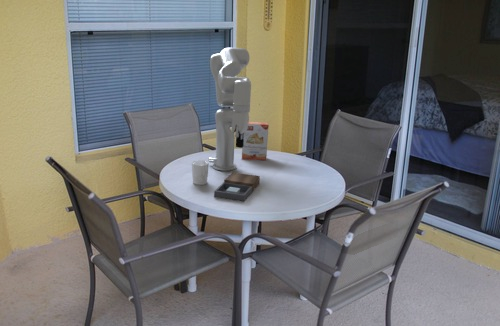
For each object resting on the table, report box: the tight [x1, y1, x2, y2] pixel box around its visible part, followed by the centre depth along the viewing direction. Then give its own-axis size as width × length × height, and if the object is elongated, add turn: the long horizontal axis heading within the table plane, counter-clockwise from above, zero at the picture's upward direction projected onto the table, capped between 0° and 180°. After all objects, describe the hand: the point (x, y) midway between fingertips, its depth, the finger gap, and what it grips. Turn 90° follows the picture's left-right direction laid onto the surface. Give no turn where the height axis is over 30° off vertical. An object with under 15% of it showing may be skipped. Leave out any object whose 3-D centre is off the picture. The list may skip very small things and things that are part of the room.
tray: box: [213, 181, 253, 203], centre depth 223 cm, size 14×12×3 cm
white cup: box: [191, 160, 210, 186], centre depth 236 cm, size 8×8×10 cm
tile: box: [226, 187, 240, 194], centre depth 223 cm, size 5×5×2 cm
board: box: [223, 171, 261, 193], centre depth 235 cm, size 14×12×4 cm
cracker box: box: [241, 121, 270, 161], centre depth 276 cm, size 14×6×21 cm, turn 90°
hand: (239, 146), depth 226 cm, fingers closed
